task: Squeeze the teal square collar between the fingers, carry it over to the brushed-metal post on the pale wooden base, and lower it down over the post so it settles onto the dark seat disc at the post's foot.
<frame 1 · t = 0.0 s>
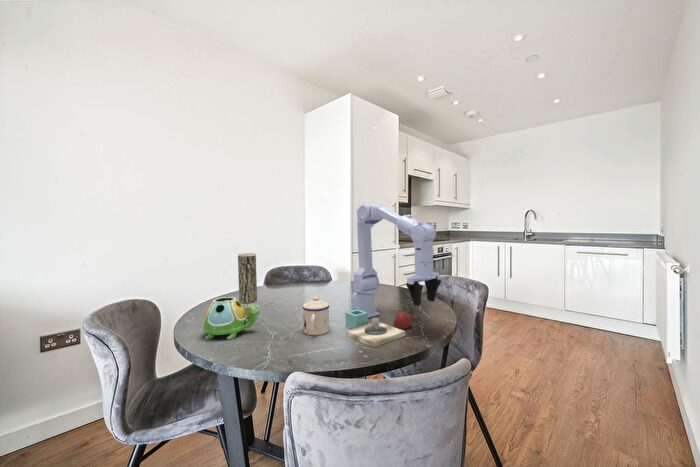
hand: (424, 303, 98), 10 cm above the table, tool pointing down, fingers open, 7 cm apart
post base: (375, 335, 97), on the table
teacup with lid: (315, 333, 101), on the table
bark log: (248, 316, 121), on the table
fruit: (405, 328, 104), on the table
turtle holder: (230, 334, 101), on the table
collar: (356, 326, 106), on the table
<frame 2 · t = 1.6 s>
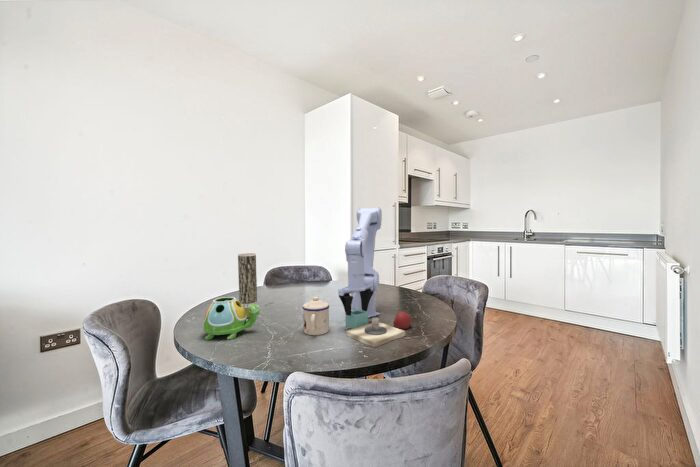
hand: (356, 312, 105), 5 cm above the table, tool pointing down, fingers open, 7 cm apart
nothing on the table moved.
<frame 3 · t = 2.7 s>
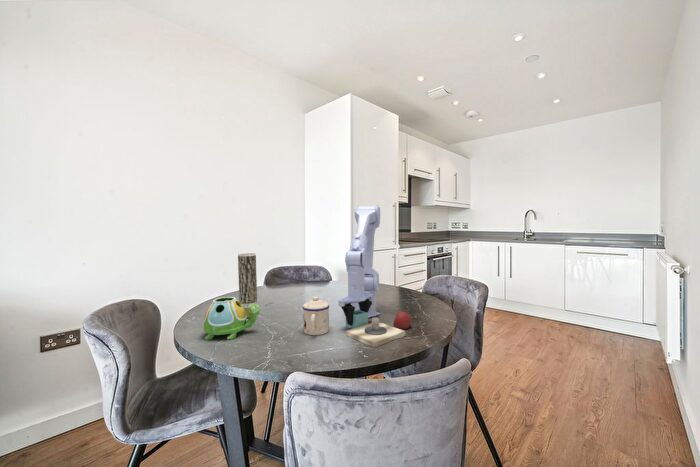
hand: (356, 322, 106), 1 cm above the table, tool pointing down, fingers closed on collar, 6 cm apart
collar: (356, 326, 106), on the table, touching gripper
everything else where it was.
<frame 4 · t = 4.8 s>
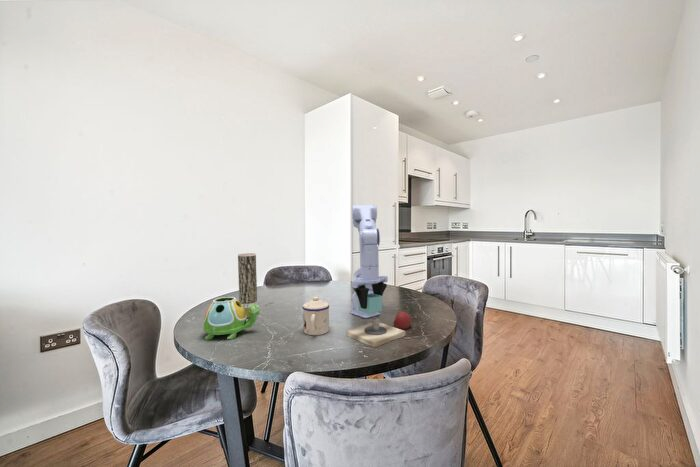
hand: (370, 306, 99), 9 cm above the table, tool pointing down, fingers closed on collar, 6 cm apart
collar: (370, 310, 99), point 8 cm above the table, touching gripper
everything else where it was.
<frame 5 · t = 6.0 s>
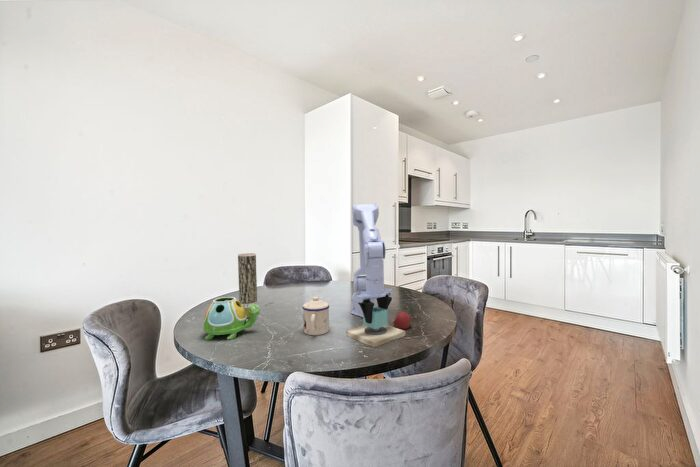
hand: (375, 320, 97), 5 cm above the table, tool pointing down, fingers closed on collar, 6 cm apart
collar: (375, 324, 97), point 3 cm above the table, touching gripper
everything else where it was.
when the fingers open (5 cm above the table, at t = 6.9 s): collar drops 2 cm, resting on post base.
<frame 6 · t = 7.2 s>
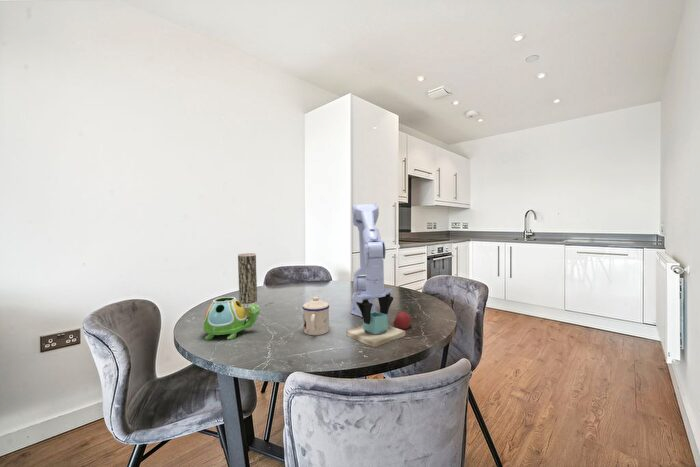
hand: (375, 320, 97), 5 cm above the table, tool pointing down, fingers open, 7 cm apart
collar: (375, 329, 97), point 2 cm above the table, touching post base
everything else where it was.
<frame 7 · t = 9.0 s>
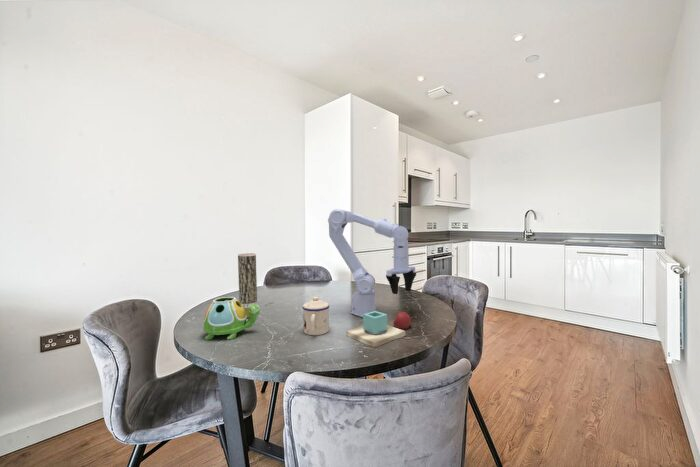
hand: (401, 292, 116), 9 cm above the table, tool pointing down, fingers open, 7 cm apart
nothing on the table moved.
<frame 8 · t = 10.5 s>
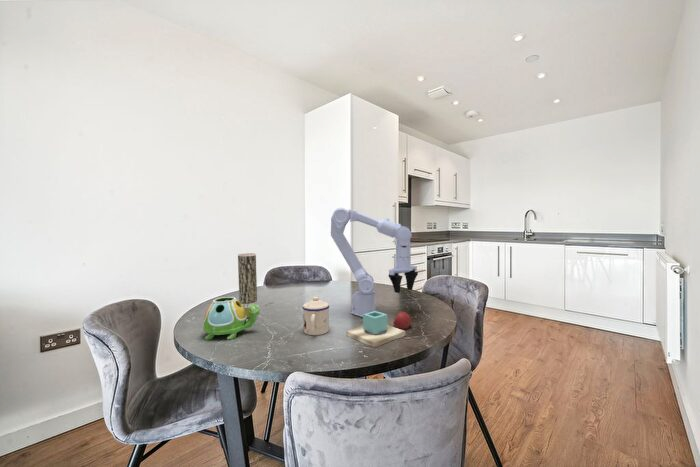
hand: (403, 291, 118), 9 cm above the table, tool pointing down, fingers open, 7 cm apart
nothing on the table moved.
at the end: collar 0.1 cm from the post base (horizontally); collar point 1.9 cm above the table; the gripper is holding nothing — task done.
